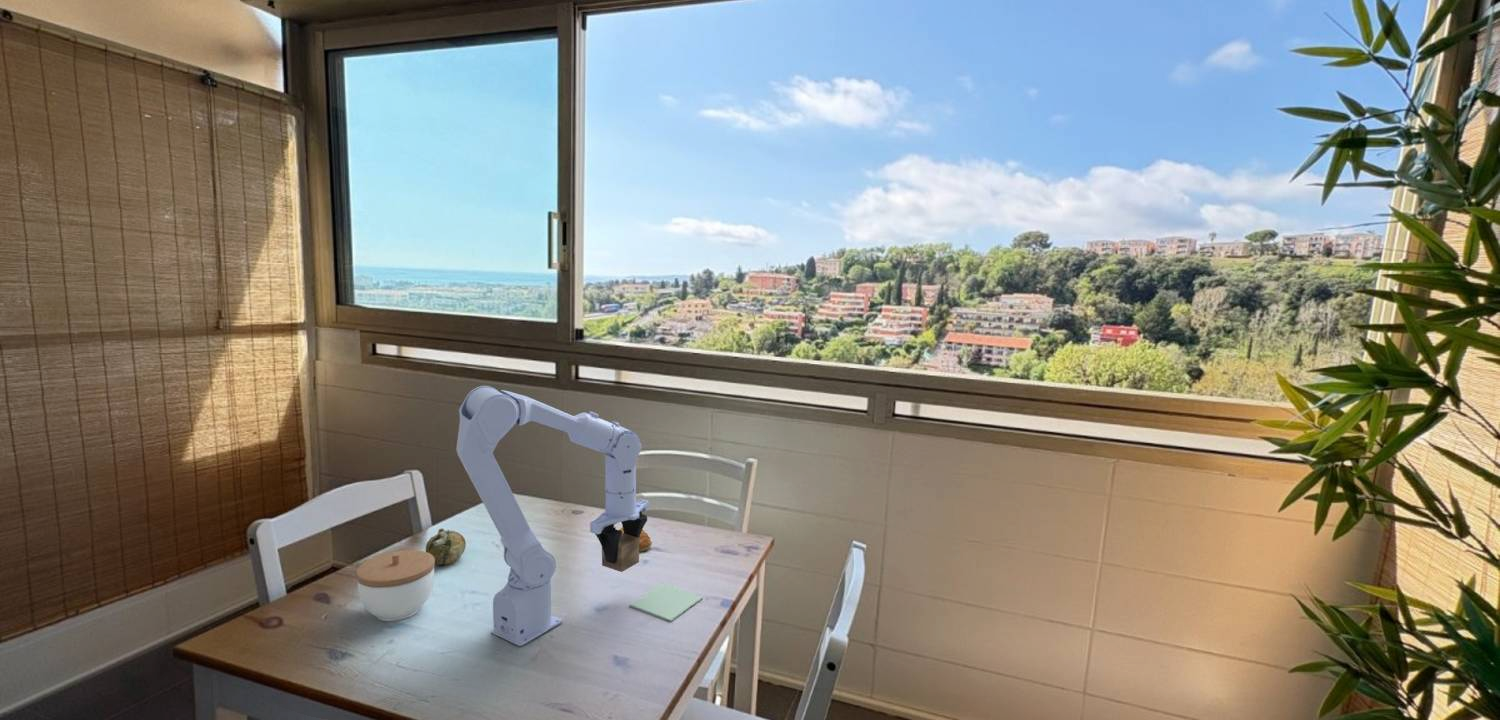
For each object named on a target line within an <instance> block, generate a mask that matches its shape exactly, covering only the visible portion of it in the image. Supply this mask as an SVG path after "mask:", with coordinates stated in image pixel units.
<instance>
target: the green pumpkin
mask: <svg viewBox="0 0 1500 720" xmlns="http://www.w3.org/2000/svg"><path fill="white" fill-rule="evenodd" d="M437 531H438V532H437V534H435V535H433V536H431V537H430V538H429V540H428V541H427V542H426V544H425V552H428V553H430V554H431V555H433V557H434V559H435V565H438V566H445V565H450V564H453V563H454V562H455V563H456V561H458V560H459V559H460V558H461V557H462V555H463V554H464V553H465V550H466V547H467V546H466V539H465V537H464V536H463V535H462V534H461V533H459V532H458V531H455V530H452V529H451V530H449V529H447V530H445V529H444V528H439V529H438V530H437Z"/></svg>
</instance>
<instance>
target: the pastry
mask: <svg viewBox="0 0 1500 720" xmlns="http://www.w3.org/2000/svg"><path fill="white" fill-rule="evenodd" d="M618 530H620V531H622V533H624V531H623V526H622V527H620V528H619V529H618ZM652 543H653V542H652V540H651V537H650V536H649V534H648V533H647V532H646V531H645V530H644V529H642V531H641V534H640V537H639V553H640V552H644V551H646V550H649V549H650V548H651V546H652V545H653V544H652Z"/></svg>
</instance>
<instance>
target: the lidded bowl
mask: <svg viewBox="0 0 1500 720" xmlns="http://www.w3.org/2000/svg"><path fill="white" fill-rule="evenodd" d="M435 565H436V564H435V559H434V557H433V555H431V554H430V553H428V552H426V551H424V550H419V549H418V550H417V549H416V550H415V549H409V550H407V549H406V550H398V551H392V552H388V553H383V554H380V555H377V556H375V557H372V558H369V559H368V560H367V561H364V562H363V563H361V564H360V565H359V567H358V568H357V569H356V571H355V577H356V581H357V591H358V595H359V599H360V602H361V604H362V605H363V607H364V609H365V610H366V611H367V612H368V613H370V615H373V616H374V617H376V618H377V619H378V620H379V621H382V622H397V621H401V620H405V619H408V618H410V617H412V616H414V615H416V614H417V613H418V612H419V611H420V610H421V607H422V606H423V605H424V604H425V603H426V602H427V600H428V599H429V597H430V595H431V593H432V590H433V588H434V583H435Z"/></svg>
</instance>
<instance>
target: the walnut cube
mask: <svg viewBox="0 0 1500 720" xmlns="http://www.w3.org/2000/svg"><path fill="white" fill-rule="evenodd" d="M638 563H640V552H639V538H638V537H634V536H631V535H628V534H624V533H622V534H621V536H620V539H619V544H618V555H617V561H616V563H614V564H613V563H610V562H607V561H606V559H605V555H604V552H603V548H602V547H601V566H602V567H605V568H609V569H612V570H614V571H617V572H621V573H623V572H624V571H626V570H629V569H630V568H631V567H633V566H635V565H637V564H638Z"/></svg>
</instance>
